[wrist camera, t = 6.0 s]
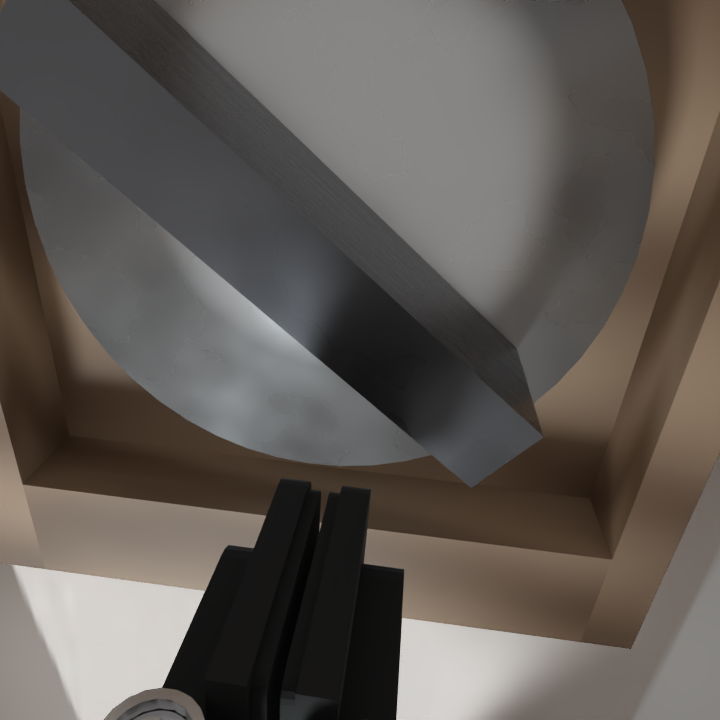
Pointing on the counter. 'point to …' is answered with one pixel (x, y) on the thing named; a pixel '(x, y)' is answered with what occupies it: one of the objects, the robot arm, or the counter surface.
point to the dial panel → (417, 476)
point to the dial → (338, 207)
